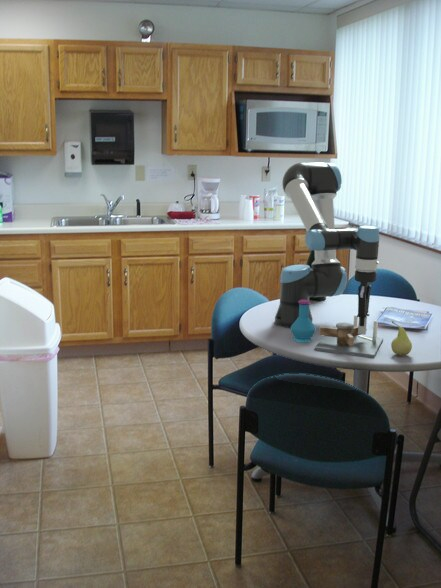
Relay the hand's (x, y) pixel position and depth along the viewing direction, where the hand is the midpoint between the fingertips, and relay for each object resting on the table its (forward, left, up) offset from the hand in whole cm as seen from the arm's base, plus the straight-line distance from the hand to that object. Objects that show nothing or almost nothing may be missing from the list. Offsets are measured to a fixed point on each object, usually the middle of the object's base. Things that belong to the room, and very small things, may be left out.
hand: (361, 333), depth 246 cm
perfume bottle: (-22, -1, -5) cm, 22 cm away
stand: (-4, -1, -5) cm, 6 cm away
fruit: (+14, -5, -5) cm, 16 cm away
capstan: (-4, -2, -3) cm, 5 cm away
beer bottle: (-33, +64, -5) cm, 72 cm away
